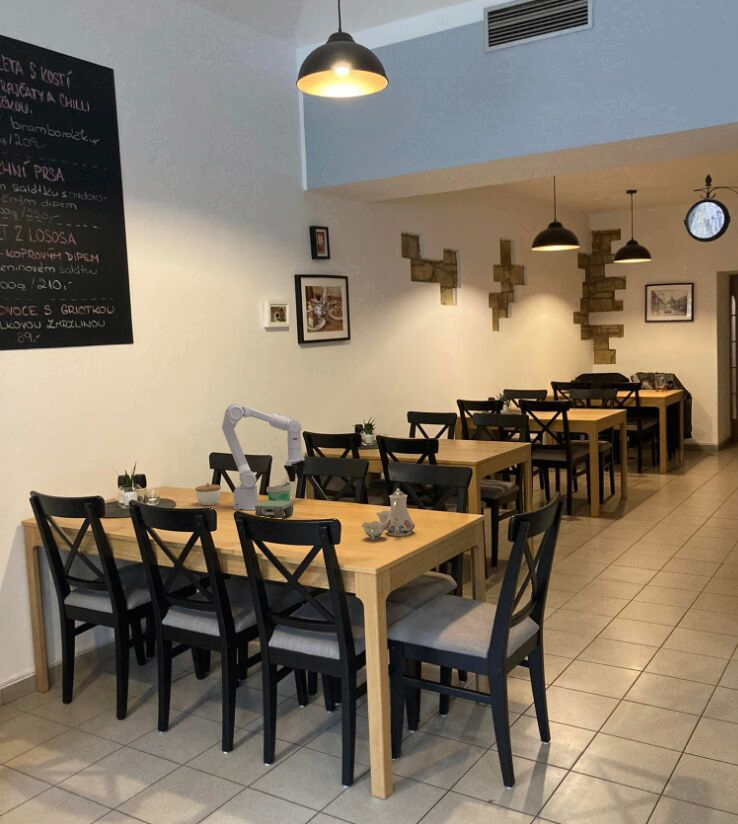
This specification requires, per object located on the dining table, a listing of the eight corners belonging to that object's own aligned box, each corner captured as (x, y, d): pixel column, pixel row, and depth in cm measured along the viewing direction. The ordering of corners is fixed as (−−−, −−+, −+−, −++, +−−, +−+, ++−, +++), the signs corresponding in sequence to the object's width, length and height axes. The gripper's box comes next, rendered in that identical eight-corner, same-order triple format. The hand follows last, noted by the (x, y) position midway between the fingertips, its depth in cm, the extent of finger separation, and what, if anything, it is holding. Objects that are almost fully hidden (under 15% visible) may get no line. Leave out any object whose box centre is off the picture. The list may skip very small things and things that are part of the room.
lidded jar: (224, 501, 356) (223, 480, 355) (217, 506, 345) (216, 485, 344) (200, 502, 357) (199, 481, 356) (193, 507, 346) (191, 485, 345)
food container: (278, 512, 329) (277, 488, 328) (267, 510, 332) (266, 486, 331) (298, 506, 338) (297, 482, 338) (287, 505, 342) (286, 481, 341)
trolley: (253, 521, 314) (252, 506, 313) (269, 513, 327) (268, 499, 327) (281, 522, 310) (280, 507, 309) (296, 514, 324) (295, 499, 323)
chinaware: (378, 528, 302) (372, 484, 301) (422, 523, 298) (415, 479, 297) (361, 547, 274) (354, 499, 273) (409, 543, 271) (402, 494, 270)
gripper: (296, 450, 334) (297, 483, 335) (310, 445, 347) (311, 477, 348) (280, 450, 336) (282, 482, 337) (295, 445, 350) (296, 476, 351)
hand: (296, 479), depth 343 cm, fingers open, 7 cm apart
